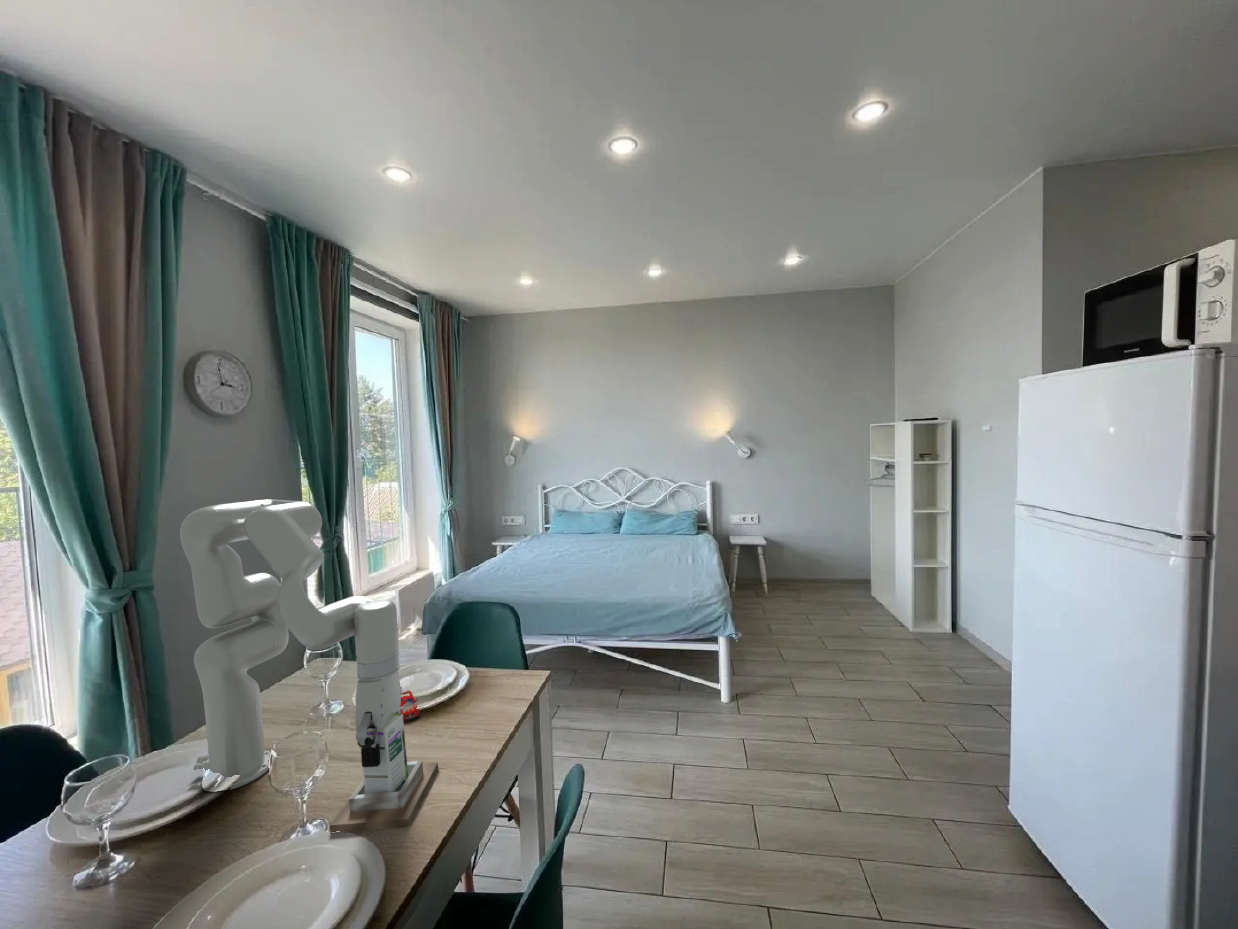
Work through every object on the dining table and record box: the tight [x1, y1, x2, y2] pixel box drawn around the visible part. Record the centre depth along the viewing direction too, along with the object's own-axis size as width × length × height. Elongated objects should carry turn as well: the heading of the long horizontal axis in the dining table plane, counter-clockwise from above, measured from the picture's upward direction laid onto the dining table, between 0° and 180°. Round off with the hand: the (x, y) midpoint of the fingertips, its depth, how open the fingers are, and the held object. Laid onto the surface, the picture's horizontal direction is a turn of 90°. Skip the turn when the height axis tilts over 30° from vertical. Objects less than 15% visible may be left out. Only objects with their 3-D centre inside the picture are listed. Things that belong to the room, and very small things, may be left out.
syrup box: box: [362, 713, 408, 794], centre depth 95 cm, size 6×6×14 cm
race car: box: [400, 689, 420, 722], centre depth 129 cm, size 13×5×4 cm, turn 31°
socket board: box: [329, 760, 439, 833], centre depth 96 cm, size 14×16×4 cm
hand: (383, 749), depth 95 cm, fingers open, 9 cm apart
